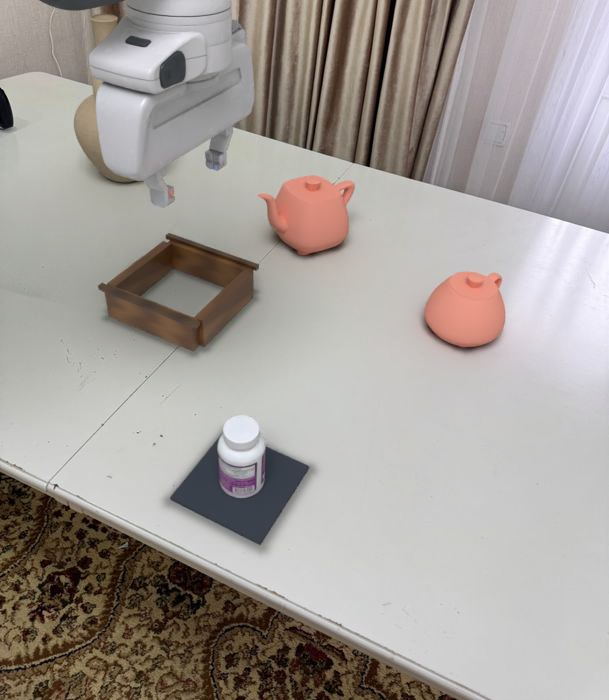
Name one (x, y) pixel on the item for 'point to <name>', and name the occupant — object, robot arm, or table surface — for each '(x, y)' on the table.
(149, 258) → the wooden square frame
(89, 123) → the vase
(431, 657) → the table surface
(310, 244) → the teapot
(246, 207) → the table surface
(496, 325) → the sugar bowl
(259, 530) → the coaster
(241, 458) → the pill bottle
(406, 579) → the table surface
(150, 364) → the table surface
